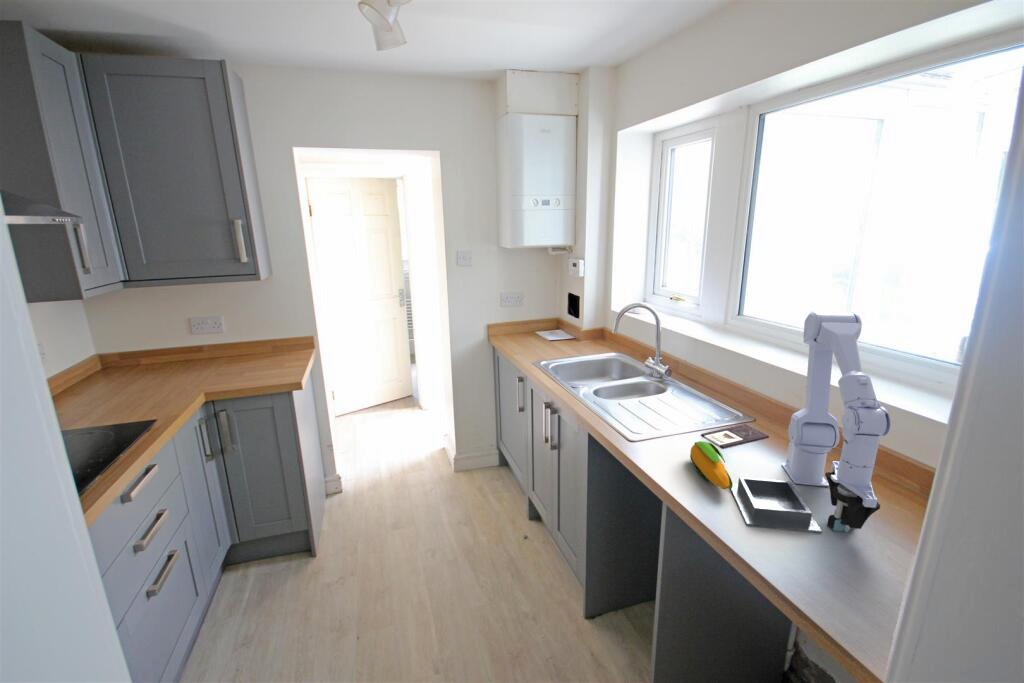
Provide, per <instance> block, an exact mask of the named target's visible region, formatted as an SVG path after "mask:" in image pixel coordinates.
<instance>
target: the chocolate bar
mask: <svg viewBox="0 0 1024 683" xmlns="http://www.w3.org/2000/svg"><path fill="white" fill-rule="evenodd" d="M700 436H701V437H703V438H704V439H707V440H708V441H710V443H712V444H714V445H716V446H719V447H720V448H722V450H723V449H727V448H732V447H736V446H741V445H744V444H748V443H752V442H756V441H760V440H761V441H762V440H764V439H768V438H770V436H769V435H768V434H765V433H764V432H762V431H761V430H758V429H756V428H754V427H752V426H750V425H748V424H746V423H743V424H740V425H735V426H731V427H727V428H721V429H717V430H713V431H712V430H711V431H707V432H704V433H701V434H700Z"/></svg>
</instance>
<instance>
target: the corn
mask: <svg viewBox="0 0 1024 683" xmlns="http://www.w3.org/2000/svg"><path fill="white" fill-rule="evenodd" d="M689 457H690V461H691V463H692V464H693V467H695V469H696V471H697V472H698V473H699V474H700V476H701V477H703V479H704V480H705V481H706V482H707V483H709V482H711V484H713V485H714V486H716V487H719V488H721V489H722V490H728V489H730V488H732V487H733V484H732V483H733V481H732V478H731V476H730V475H729V473H728V471H727V470H726V467H725V465H724V464H725V463H726V461H725V459H724V456H723V454H722V453H721V451H720V450H719V449H718V448H717V447H716V446H715V444H714V443H712V442H708V441H704V440H703V441H701V440H699V441H696V442H694V444H693V445H692V447H691V448H690V454H689ZM720 458H721V459H722V460H721V459H720ZM722 461H723V462H722ZM723 463H724V464H723Z"/></svg>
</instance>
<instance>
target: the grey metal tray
mask: <svg viewBox="0 0 1024 683" xmlns="http://www.w3.org/2000/svg"><path fill="white" fill-rule="evenodd" d="M732 484H733V487H732V488H729V489H730V492H731V495H732V496H733V499H734V500H735V502H736V505H737V507H738V508H739V511H740V515H741V516H742V518H743V522H744V523H745V524H746V526H747V527H755V528H756V527H757V528H767V529H777V530H785V531H794V532H795V531H796V532H806V533H813V534H822V532H823V530H822V529H821V528H820V526H819V524H818V523H817V522H816V520H815V518H814V517H813V513H812V511H811V510H810V508H809V507H808V505H807V504H806V502H805V501H804V500H803V498H802V496H801V495H800V494H799V492H798V491H797V488H796V487H795V486H794V485H793V484H792V482H791V481H790V480H780V479H769V478H758V477H747V476H746V477H745V476H739V477H738V482H737V483H734V482H732Z"/></svg>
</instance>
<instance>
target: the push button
mask: <svg viewBox="0 0 1024 683" xmlns="http://www.w3.org/2000/svg"><path fill="white" fill-rule="evenodd" d="M833 496H834V497H835V498H836V499H837V500H838V501H837V506H835V507H836V508H835V510H834V514H830V515H829V516H828V518H827V527H829V528H830V529H831V530H832V531H834V532H837V533H838V532H842V531H844V532H849V531H850V530H852V529H853V528H850V527H849V526H848V504H847V501H846V499H845V496H848V497H856V498H857V496H858V495H857V494H855V493H854V492H852V491H851V490H849V489H848V488H846V487H845V486H843V485H842V484H839V485H836V486H834V487H833Z"/></svg>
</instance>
